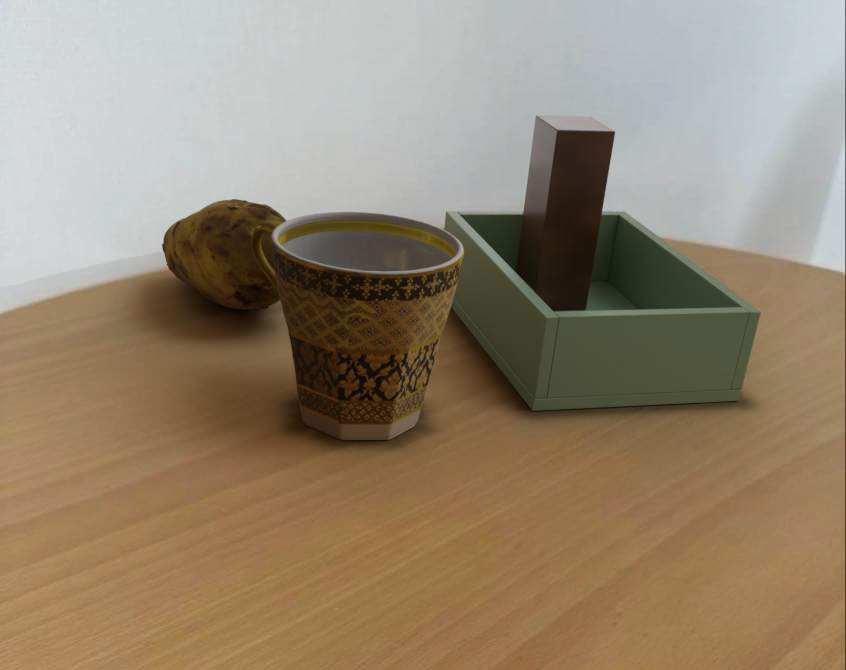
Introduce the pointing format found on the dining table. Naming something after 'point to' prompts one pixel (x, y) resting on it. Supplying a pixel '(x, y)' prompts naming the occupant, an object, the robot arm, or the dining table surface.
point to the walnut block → (564, 208)
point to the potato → (223, 253)
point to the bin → (604, 320)
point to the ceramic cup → (361, 314)
